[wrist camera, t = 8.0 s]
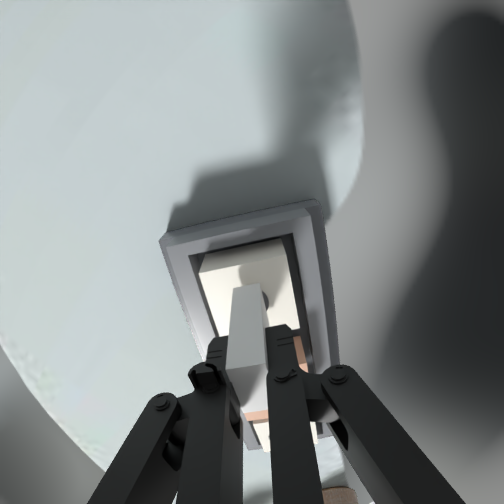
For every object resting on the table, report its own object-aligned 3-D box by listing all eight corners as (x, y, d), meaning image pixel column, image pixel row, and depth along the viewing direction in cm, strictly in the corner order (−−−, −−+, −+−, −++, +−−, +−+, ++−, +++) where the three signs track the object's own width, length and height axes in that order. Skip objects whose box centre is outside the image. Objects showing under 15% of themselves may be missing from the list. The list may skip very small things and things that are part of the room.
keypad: (166, 232, 22) (149, 251, 18) (314, 198, 21) (328, 211, 17) (238, 422, 29) (237, 451, 26) (338, 404, 29) (346, 432, 25)
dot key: (205, 254, 20) (198, 274, 17) (280, 238, 19) (286, 256, 16) (224, 317, 22) (221, 344, 19) (293, 303, 21) (300, 329, 18)
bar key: (252, 398, 25) (252, 426, 22) (308, 388, 24) (314, 415, 21) (263, 428, 26) (264, 454, 23) (313, 420, 26) (318, 444, 23)
